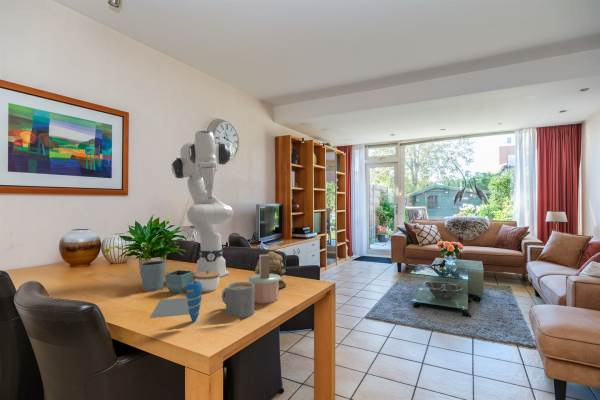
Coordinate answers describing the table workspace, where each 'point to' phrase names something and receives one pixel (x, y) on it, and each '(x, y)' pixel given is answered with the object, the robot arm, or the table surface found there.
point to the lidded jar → (208, 280)
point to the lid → (264, 273)
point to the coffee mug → (239, 299)
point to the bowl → (266, 293)
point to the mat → (171, 308)
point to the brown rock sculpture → (274, 267)
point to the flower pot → (178, 280)
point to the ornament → (194, 298)
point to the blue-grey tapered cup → (152, 275)
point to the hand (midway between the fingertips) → (210, 198)
